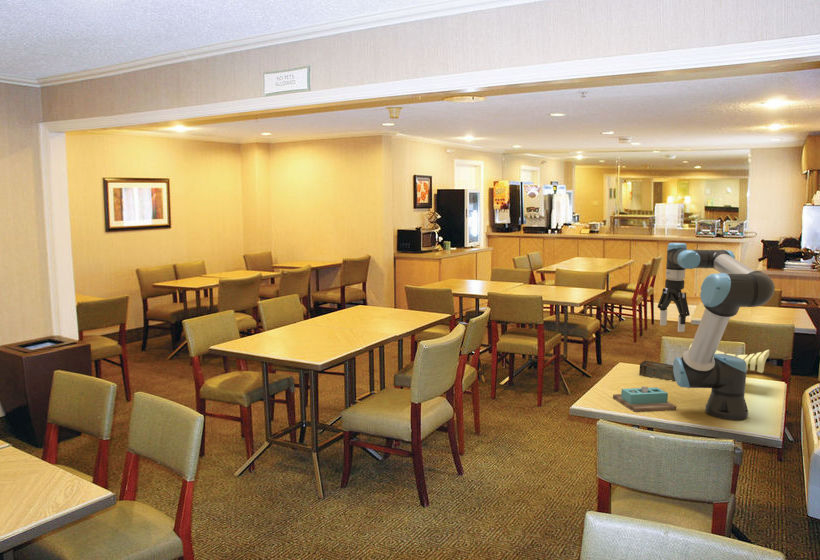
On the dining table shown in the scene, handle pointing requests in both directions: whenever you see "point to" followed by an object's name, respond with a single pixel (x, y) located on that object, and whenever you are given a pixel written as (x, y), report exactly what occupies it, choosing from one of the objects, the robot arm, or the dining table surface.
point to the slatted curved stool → (751, 360)
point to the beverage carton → (657, 370)
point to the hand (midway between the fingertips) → (671, 328)
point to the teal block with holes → (644, 396)
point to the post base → (645, 406)
